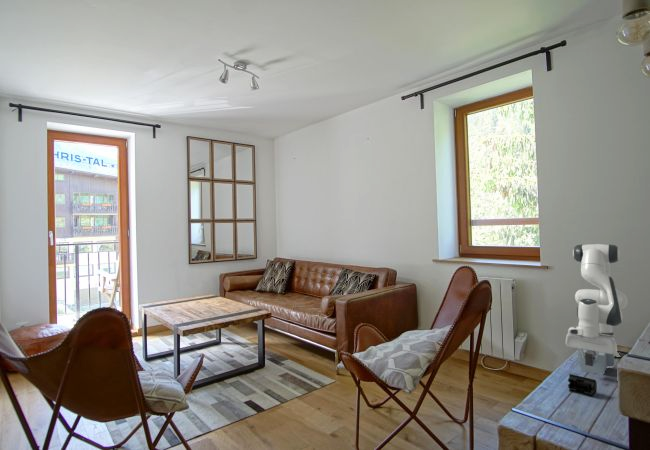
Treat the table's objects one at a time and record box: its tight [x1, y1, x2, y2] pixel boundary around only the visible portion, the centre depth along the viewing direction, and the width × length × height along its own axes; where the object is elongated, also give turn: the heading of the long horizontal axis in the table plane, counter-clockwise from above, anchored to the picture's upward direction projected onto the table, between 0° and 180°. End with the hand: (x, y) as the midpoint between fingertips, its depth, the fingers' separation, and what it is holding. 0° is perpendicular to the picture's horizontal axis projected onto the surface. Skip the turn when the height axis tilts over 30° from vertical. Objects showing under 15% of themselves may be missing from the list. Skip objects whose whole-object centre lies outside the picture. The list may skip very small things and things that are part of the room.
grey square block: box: [577, 348, 615, 375], centre depth 195 cm, size 16×16×14 cm
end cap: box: [567, 373, 598, 398], centre depth 165 cm, size 10×7×7 cm
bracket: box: [585, 350, 594, 366], centre depth 184 cm, size 6×3×6 cm, turn 137°
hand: (589, 358), depth 184 cm, fingers closed on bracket, 3 cm apart
